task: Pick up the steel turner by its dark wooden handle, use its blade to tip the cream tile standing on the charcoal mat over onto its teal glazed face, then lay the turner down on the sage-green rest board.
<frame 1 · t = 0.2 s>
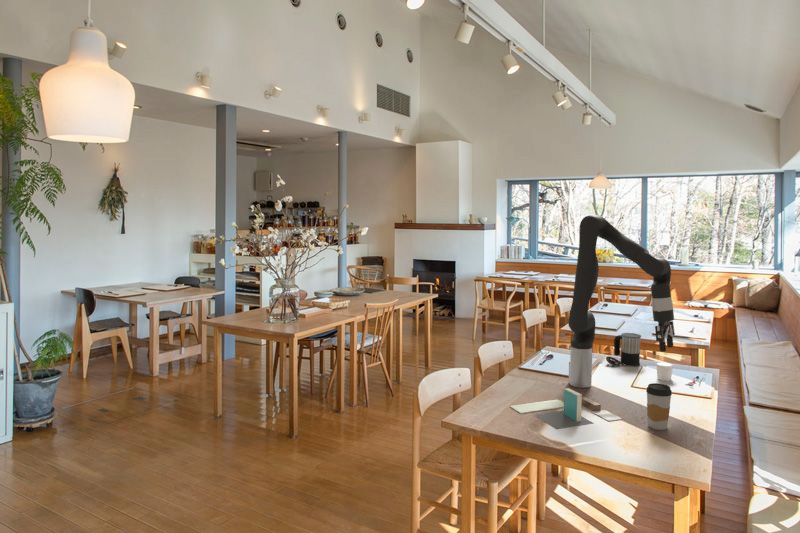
hand: (666, 349, 228), 22 cm above the table, tool pointing down, fingers open, 8 cm apart
white cup: (664, 379, 263), on the table
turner: (596, 412, 222), on the table
mat: (563, 420, 214), on the table
milk frother: (622, 364, 287), on the table
tile: (572, 417, 215), point 1 cm above the table, touching mat
coffee cup: (657, 427, 207), on the table
rest board: (539, 408, 227), on the table
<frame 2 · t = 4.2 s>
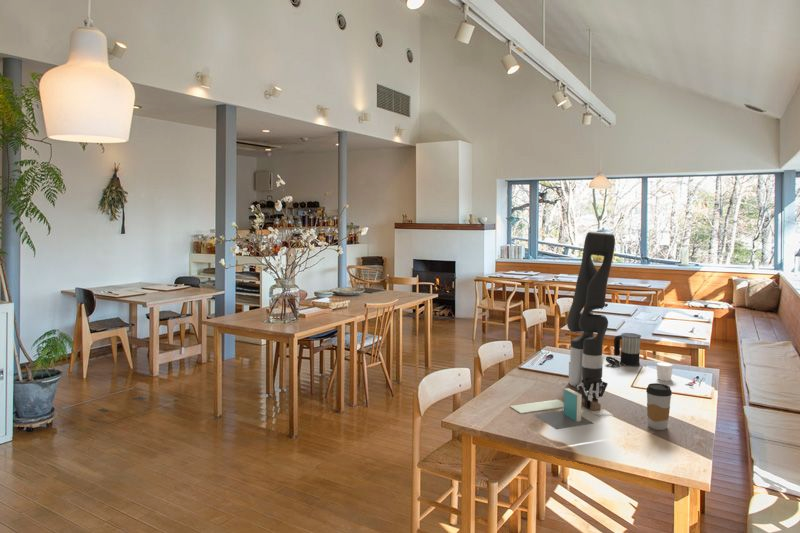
hand: (591, 407, 225), 1 cm above the table, tool pointing down, fingers closed on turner, 2 cm apart
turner: (595, 411, 222), on the table, touching gripper
everything else where it was.
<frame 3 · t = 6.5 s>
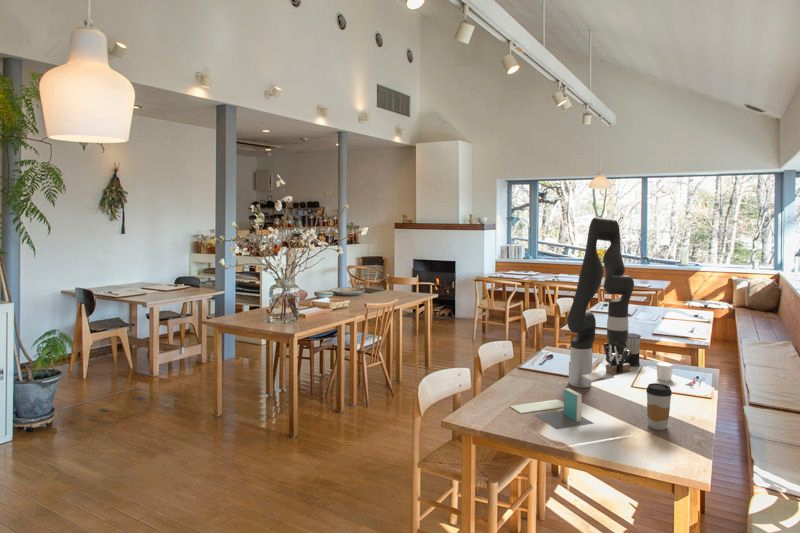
hand: (616, 372, 220), 16 cm above the table, tool pointing down, fingers closed on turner, 2 cm apart
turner: (610, 375, 219), point 15 cm above the table, touching gripper
everything else where it was.
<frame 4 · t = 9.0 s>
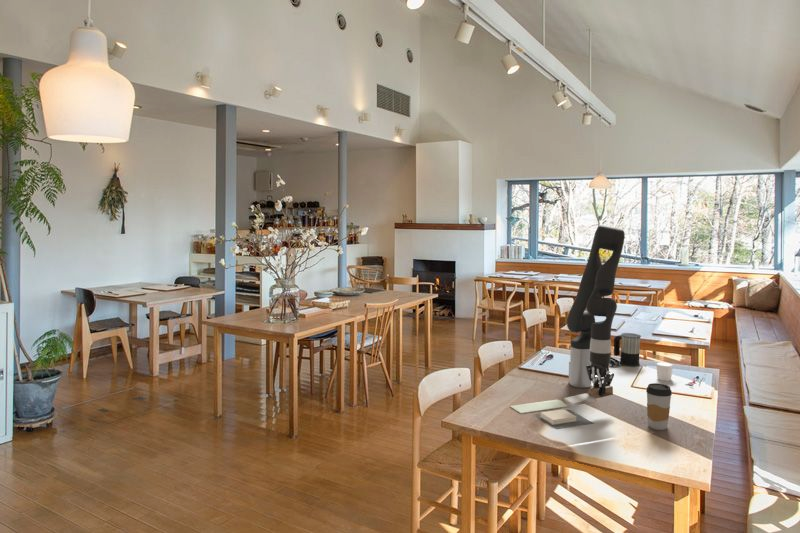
hand: (599, 394, 218), 8 cm above the table, tool pointing down, fingers closed on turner, 2 cm apart
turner: (593, 397, 217), point 7 cm above the table, touching gripper
tile: (569, 414, 214), point 2 cm above the table, tilted 90°, touching mat
everything else where it was.
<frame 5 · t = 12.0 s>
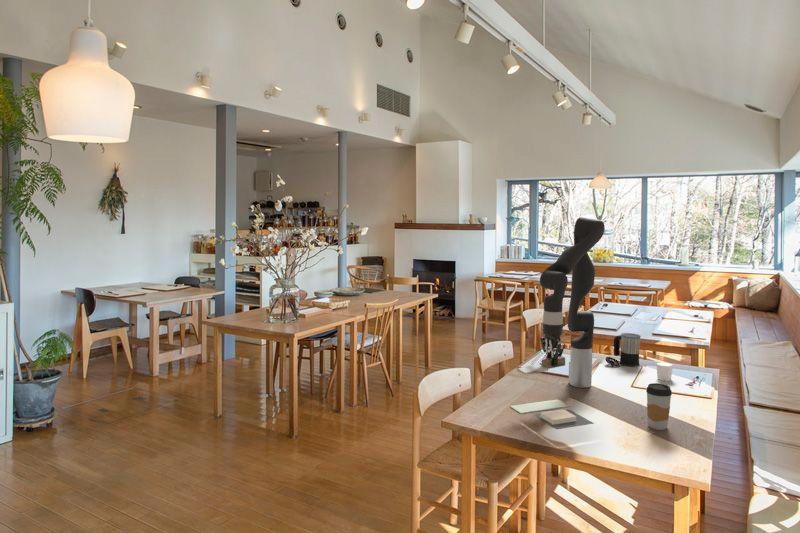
hand: (551, 365, 226), 17 cm above the table, tool pointing down, fingers closed on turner, 2 cm apart
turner: (546, 368, 226), point 16 cm above the table, touching gripper
everything else where it was.
when the fingers open (3 cm above the table, at t = 14.8 s): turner drops 1 cm, resting on rest board.
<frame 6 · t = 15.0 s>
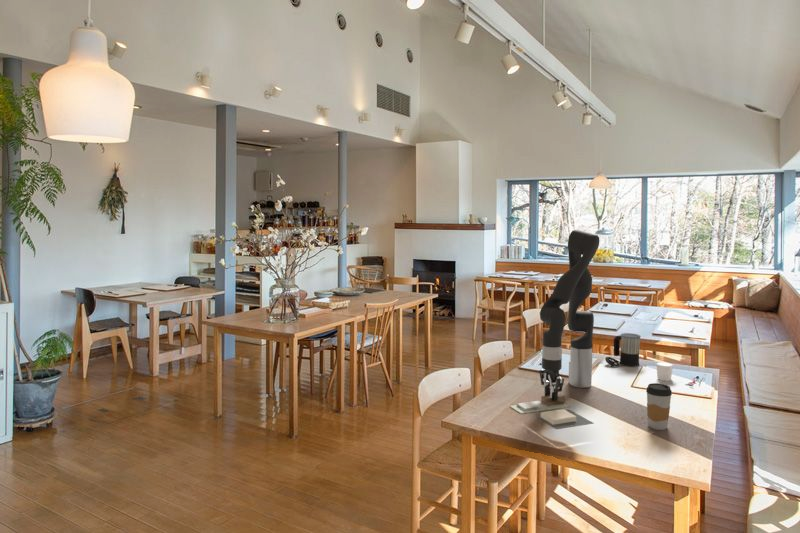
hand: (550, 398, 228), 3 cm above the table, tool pointing down, fingers open, 4 cm apart
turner: (545, 405, 227), point 1 cm above the table, touching rest board
everything else where it was.
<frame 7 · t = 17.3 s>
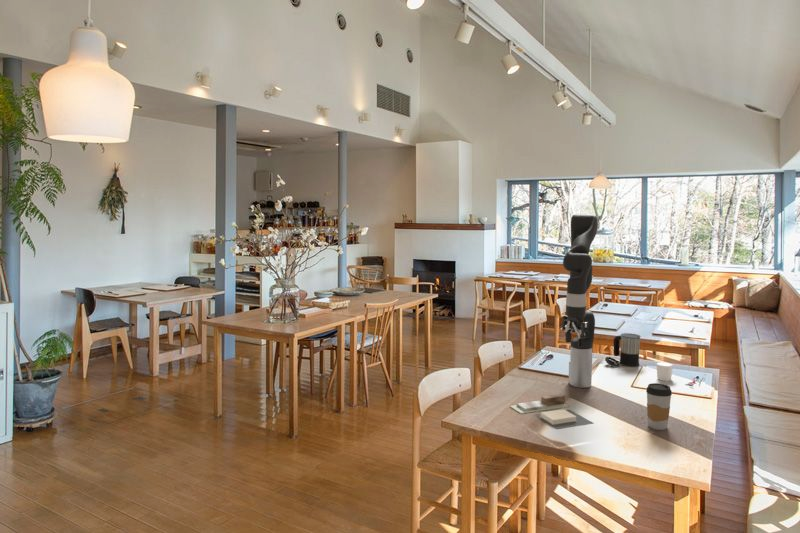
hand: (574, 344, 226), 25 cm above the table, tool pointing down, fingers open, 8 cm apart
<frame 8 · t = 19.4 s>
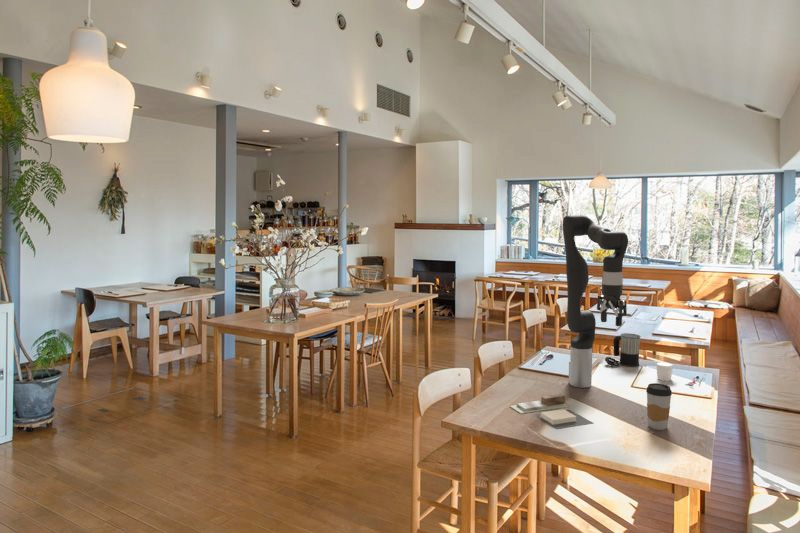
hand: (610, 324, 225), 33 cm above the table, tool pointing down, fingers open, 8 cm apart
at the end: tile tilted 90°; tile inside the target area on the mat (2.8 cm from its centre), point 1.7 cm above the mat's base; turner inside the target area on the rest board (1.4 cm from its centre), point 1.0 cm above the rest board's base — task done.
